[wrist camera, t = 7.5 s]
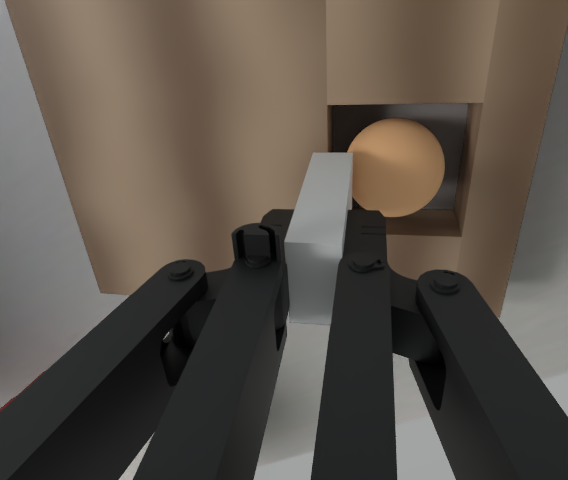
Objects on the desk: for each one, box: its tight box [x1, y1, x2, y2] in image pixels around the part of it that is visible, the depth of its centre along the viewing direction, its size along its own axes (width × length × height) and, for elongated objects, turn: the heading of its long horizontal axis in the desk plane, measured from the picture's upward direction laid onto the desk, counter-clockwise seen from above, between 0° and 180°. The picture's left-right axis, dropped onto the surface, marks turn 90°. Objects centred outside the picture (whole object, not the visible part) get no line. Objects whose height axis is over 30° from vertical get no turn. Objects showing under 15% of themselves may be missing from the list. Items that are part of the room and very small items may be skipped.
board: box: [5, 0, 568, 318], centre depth 20 cm, size 20×14×2 cm
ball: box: [347, 118, 445, 217], centre depth 19 cm, size 4×4×4 cm
